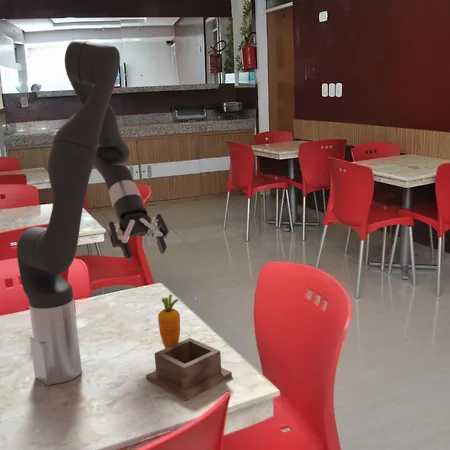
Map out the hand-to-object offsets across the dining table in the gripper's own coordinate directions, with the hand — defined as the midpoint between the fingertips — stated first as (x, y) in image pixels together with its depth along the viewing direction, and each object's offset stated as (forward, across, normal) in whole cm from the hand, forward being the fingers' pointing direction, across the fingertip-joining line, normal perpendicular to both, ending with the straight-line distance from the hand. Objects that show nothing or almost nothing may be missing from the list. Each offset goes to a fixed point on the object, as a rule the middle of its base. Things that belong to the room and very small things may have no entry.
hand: (147, 255), depth 133 cm
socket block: (+32, -1, -1) cm, 32 cm away
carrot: (+24, 0, +7) cm, 25 cm away
